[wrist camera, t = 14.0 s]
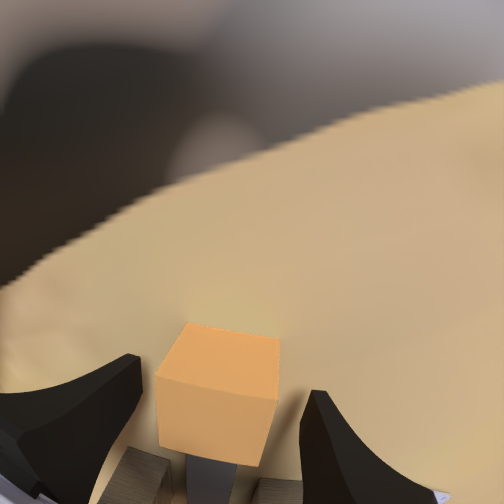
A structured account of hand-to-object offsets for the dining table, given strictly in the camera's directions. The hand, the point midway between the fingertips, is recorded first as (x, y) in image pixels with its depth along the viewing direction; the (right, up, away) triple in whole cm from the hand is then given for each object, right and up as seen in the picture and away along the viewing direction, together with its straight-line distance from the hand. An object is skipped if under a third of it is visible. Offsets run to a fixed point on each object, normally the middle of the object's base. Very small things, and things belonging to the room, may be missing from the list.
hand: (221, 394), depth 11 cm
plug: (-1, -5, +3) cm, 6 cm away
